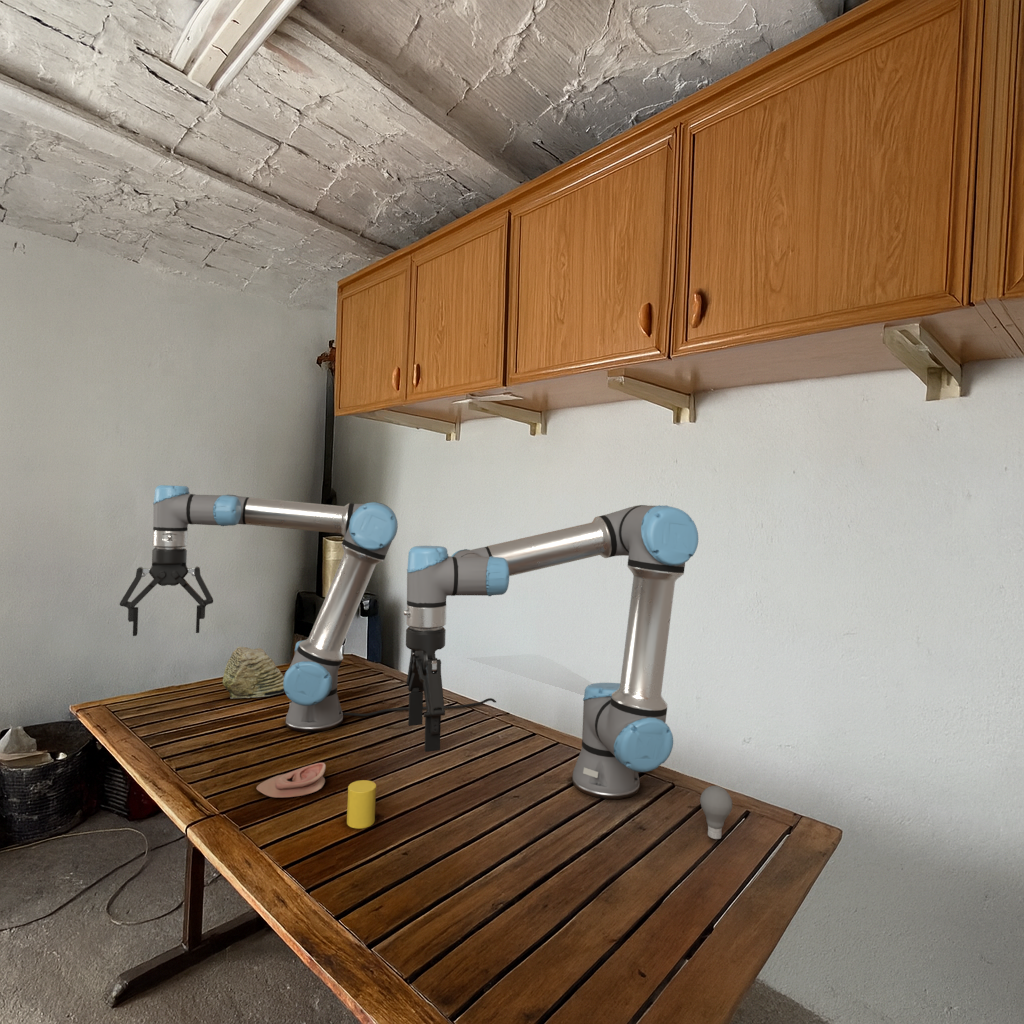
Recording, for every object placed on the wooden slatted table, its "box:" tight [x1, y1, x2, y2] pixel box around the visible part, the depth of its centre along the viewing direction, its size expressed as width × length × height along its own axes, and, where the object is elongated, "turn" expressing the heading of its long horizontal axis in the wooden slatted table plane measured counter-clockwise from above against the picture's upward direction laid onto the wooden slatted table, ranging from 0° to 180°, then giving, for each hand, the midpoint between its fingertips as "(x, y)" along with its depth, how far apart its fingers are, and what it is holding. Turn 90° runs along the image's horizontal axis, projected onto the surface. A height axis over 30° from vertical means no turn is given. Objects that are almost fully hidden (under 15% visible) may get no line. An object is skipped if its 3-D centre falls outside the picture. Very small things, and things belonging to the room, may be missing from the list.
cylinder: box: [346, 779, 377, 830], centre depth 124 cm, size 5×5×7 cm
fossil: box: [222, 646, 285, 699], centre depth 198 cm, size 9×18×15 cm, turn 132°
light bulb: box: [699, 785, 734, 840], centre depth 124 cm, size 6×6×10 cm
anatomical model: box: [256, 762, 327, 799], centre depth 137 cm, size 13×4×12 cm
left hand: (166, 633), depth 157 cm, fingers open, 13 cm apart
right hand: (423, 737), depth 122 cm, fingers open, 13 cm apart
